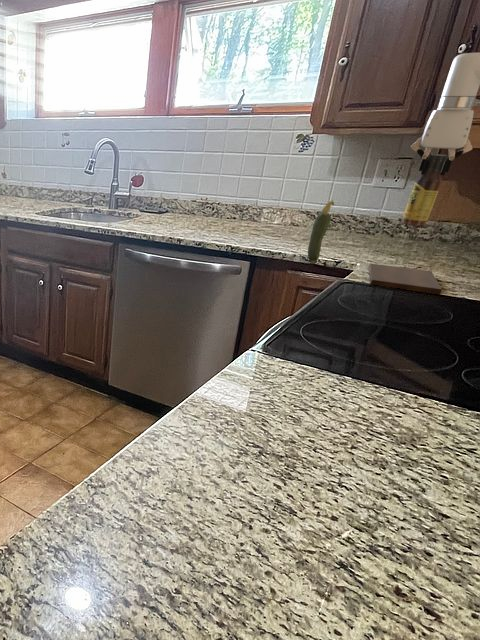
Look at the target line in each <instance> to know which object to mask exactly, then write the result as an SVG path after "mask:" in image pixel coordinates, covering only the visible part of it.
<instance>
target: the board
mask: <svg viewBox="0 0 480 640" xmlns="http://www.w3.org/2000/svg"><path fill="white" fill-rule="evenodd" d="M367 269H368V276H369V277H368V278H369V284H371V286H375V285H379V286H378V287H383V286H386V288H390V287H393V288H392V289H397V288H400V289H399V290H404V289H406V290H405V291H411V290H412V292H419V293H425V292H426V294H434V295H441V294H442V291H443V288H442V287H441V284H440V283H439V281H438V280H437V278H436V276H435V275H434V273H433V271H432V270H427V269H418V268H410V267H402V266H394V265H386V264H378V263H369V264H368V267H367Z"/></svg>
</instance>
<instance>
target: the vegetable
mask: <svg viewBox="0 0 480 640" xmlns="http://www.w3.org/2000/svg"><path fill="white" fill-rule="evenodd" d="M334 205H335V202H334V200H330V201H328V202H327V203H326V204H325V206H324V207H323V208H322V210H321V212H320V213H319V214H318V215H317V216H316V217H315V220H314V223H313V225H312V230H311V234H310V238H309V242H308V247H307V258H308V260H309V262H310V263H311V264H313V265H314V264H315V263H317V262H318V259H320V253H321V247H322V243H323V239H324V237H325V236H326V233H327V231H328V229H329V227H330V224H331V220H332V217H331V214H330V213H329V212H330V211H331V208H332V206H334Z"/></svg>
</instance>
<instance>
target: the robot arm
mask: <svg viewBox="0 0 480 640" xmlns="http://www.w3.org/2000/svg"><path fill="white" fill-rule="evenodd" d="M479 88H480V52H465V53H460V54H458V55H456V56H455V57H454V58H453V60H452V63H451V66H450V69H449V72H448V74H447V77H446V81H445V83H444V86H443V90H442V92H441V96H440V98H439V102H438V105H437V108H436V109H433V110H432V112H431V113H430V116H429V117H428V120H427V122H426V124H425V127H424V130H423V132H422V135H421V136H420V137H419V138H418V139H417V140H416V141H414V143H412V145H410V149H412V150H413V151H414V152H415V153H416V154H417V155H418V156H419V157H420V158H421V161H420V163H419V167H418V169H417V170H418V172H419V174H420V175H421V174H424V172H425V169H426V166H427V163H428V158H429V156H430V154H431V152H432V150H433V149H446V150H447V149H448V153H447V158H446V160H445V162H444V163H443V166H442V170H441V171H440V173H441V176H445V174H446V173H449V170H450V168H451V165H452V162H453V161H454V160H456V159H457V158H458V157H460V156H462V155H463V154H466V153H468V152H470V151H472V150H473V146H472V143H471V141H470V138H469V135H470V131H471V128H472V125H473V118H474V112H475V111H474V109H473V107H476V106H480V99H477V94H478V91H479ZM419 146H420V147H419ZM421 147H422V148H425V149H424V150H423V149H422V148H421ZM457 149H459V150H457ZM456 150H457V151H456Z"/></svg>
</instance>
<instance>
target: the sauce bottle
mask: <svg viewBox="0 0 480 640" xmlns="http://www.w3.org/2000/svg"><path fill="white" fill-rule="evenodd" d="M447 158H448V154H437V153H429V155H428V163H427V166H426V169H425V172H424V174H420V175H419V176H418V178H416V181H415V182H414V184H413V187H412V190H411V193H410V195H409V198H408V200H407V204H406V206H405V208H404V212H403V214H402V219H401V223H402V224H404V225H407V226H408V225H409V226H414V227H415V226H416V227H423V226H425V225H426V224H427V221H428V220H429V218H430V215H431V212H432V211H433V207H434V205H435V203H436V199H437V197H438V194H439V190H440V187H441V185H442V182H443V175H441V170H442V167H443V164H444V162H445V160H446V159H447Z"/></svg>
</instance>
